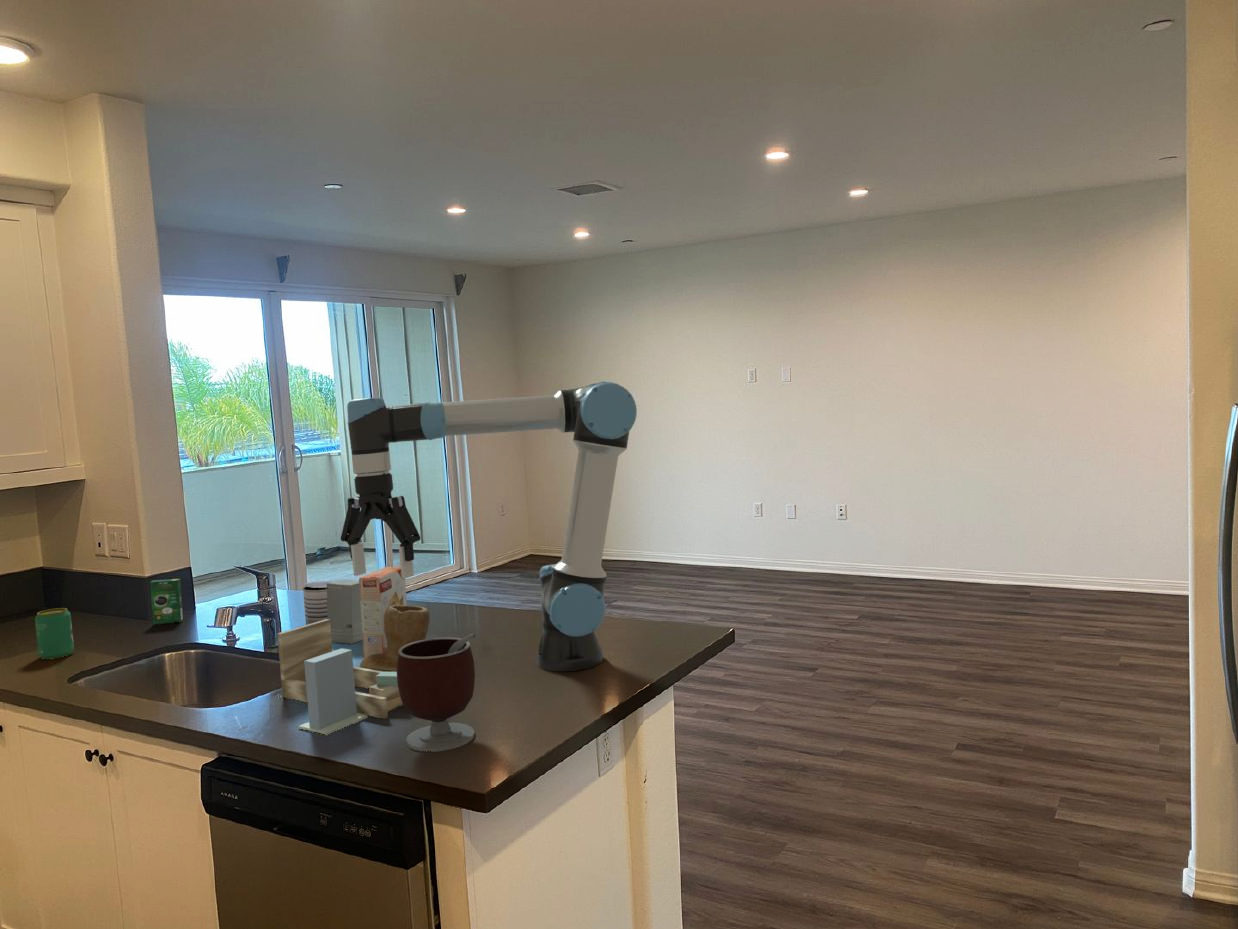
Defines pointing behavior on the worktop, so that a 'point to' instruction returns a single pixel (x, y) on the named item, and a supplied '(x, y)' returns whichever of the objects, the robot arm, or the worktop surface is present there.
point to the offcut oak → (394, 703)
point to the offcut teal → (387, 679)
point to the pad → (335, 724)
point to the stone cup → (399, 635)
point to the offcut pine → (384, 691)
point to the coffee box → (166, 601)
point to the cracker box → (379, 605)
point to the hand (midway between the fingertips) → (383, 575)
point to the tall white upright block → (330, 688)
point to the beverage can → (54, 633)
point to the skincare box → (344, 611)
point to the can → (315, 601)
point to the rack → (312, 644)
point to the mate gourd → (437, 690)
